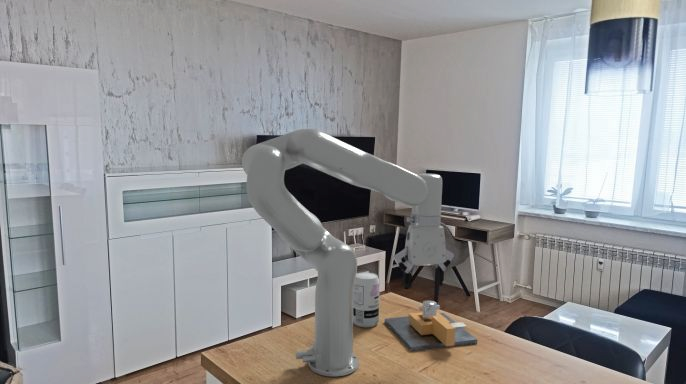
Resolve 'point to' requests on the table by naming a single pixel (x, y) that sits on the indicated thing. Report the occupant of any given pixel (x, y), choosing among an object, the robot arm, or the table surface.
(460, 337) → the base plate
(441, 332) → the tan wooden bracket
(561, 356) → the table surface
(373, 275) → the supplement can
